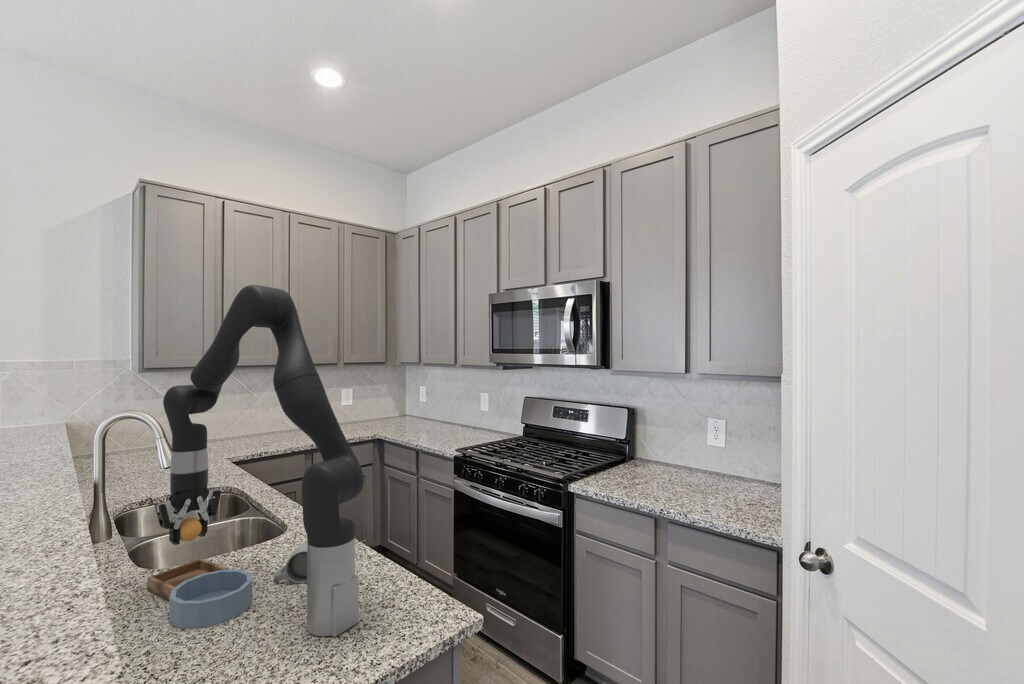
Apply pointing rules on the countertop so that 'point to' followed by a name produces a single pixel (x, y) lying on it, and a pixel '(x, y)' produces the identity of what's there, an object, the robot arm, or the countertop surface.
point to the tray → (179, 576)
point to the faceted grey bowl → (210, 598)
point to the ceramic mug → (295, 566)
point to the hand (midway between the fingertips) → (188, 539)
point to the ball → (189, 529)
